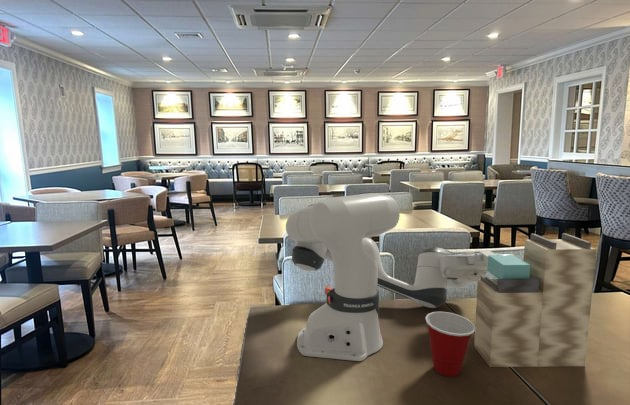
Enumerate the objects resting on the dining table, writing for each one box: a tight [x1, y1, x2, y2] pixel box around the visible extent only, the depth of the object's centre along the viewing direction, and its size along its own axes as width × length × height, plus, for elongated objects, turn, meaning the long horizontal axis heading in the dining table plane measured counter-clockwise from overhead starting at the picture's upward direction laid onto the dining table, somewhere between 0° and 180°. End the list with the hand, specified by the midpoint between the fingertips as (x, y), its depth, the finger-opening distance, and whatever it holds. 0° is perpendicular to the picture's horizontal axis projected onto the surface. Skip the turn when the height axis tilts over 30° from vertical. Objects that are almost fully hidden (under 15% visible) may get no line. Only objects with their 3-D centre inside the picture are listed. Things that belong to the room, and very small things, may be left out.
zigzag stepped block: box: [473, 232, 597, 368], centre depth 92 cm, size 22×9×30 cm, turn 90°
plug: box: [478, 250, 530, 279], centre depth 97 cm, size 6×17×4 cm, turn 0°
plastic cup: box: [425, 311, 476, 378], centre depth 88 cm, size 11×11×12 cm
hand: (488, 256), depth 102 cm, fingers closed on plug, 3 cm apart
